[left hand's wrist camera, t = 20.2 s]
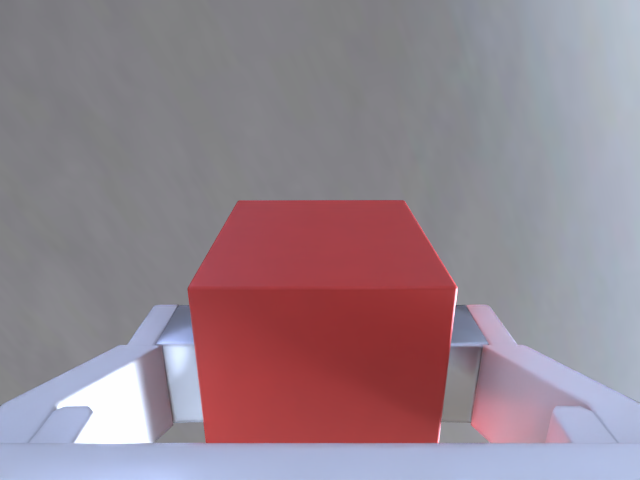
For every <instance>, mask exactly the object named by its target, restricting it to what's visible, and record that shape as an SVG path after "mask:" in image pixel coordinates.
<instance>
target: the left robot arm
mask: <svg viewBox="0 0 640 480" xmlns="http://www.w3.org/2000/svg"><path fill="white" fill-rule="evenodd" d="M184 422H203V414H202V406H201V397H200V389H199V381H198V372H197V364H196V356H195V347H194V339H193V330H192V322H191V314H190V305H156V306H154V307H153V308H152V309H151V311H150V312H149V314H148V315H147V317H146V318H145V319H144V321H143V322H142V324H141V325H140V327H139V328H138V330H137V331H136V333H135V334H134V335H133V337H132V338H131V340H130V341H129V343H128V344H127V345H119V346H117V347H115V348H113V349H111V350H109V351H107V352H105V353H103V354H101V355H99V356H97V357H95V358H93V359H91V360H89V361H87V362H85V363H83V364H81V365H79V366H77V367H75V368H73V369H71V370H69V371H67V372H65V373H63V374H61V375H60V376H58V377H56V378H54V379H52V380H50V381H48V382H46V383H44V384H42V385H40V386H38V387H36V388H34V389H32V390H30V391H28V392H26V393H24V394H22V395H20V396H18V397H16V398H14V399H12V400H10V401H8V402H6V403H4V404H2V406H1V407H0V480H640V403H639V402H637V401H635V400H633V399H631V398H629V397H627V396H625V395H623V394H621V393H619V392H617V391H615V390H613V389H611V388H609V387H607V386H605V385H603V384H601V383H599V382H597V381H595V380H593V379H591V378H589V377H587V376H585V375H583V374H581V373H579V372H577V371H575V370H573V369H571V368H569V367H567V366H565V365H563V364H561V363H559V362H557V361H555V360H553V359H551V358H549V357H547V356H545V355H543V354H541V353H539V352H537V351H535V350H533V349H531V348H529V347H527V346H525V345H517V344H516V342H515V341H514V339H513V338H512V337H511V335H510V334H509V332H508V331H507V330H506V328H505V327H504V325H503V324H502V323H501V321H500V320H499V318H498V317H497V316H496V314H495V313H494V311H493V310H492V308H491V307H490V306H488V305H486V304H483V305H455V313H454V321H453V330H452V338H451V346H450V354H449V362H448V371H447V379H446V387H445V395H444V403H443V411H442V420H441V422H459V423H471V425H472V426H473V427H474V428H475V429H476V430H477V431H478V432H479V433H480V434H481V435H483V436H484V437H485V438H486V439H487V440H488V441H489V442H490V443H154V442H155V441H156V440H158V439H159V438H160V437H161V436H162V435H163V434H164V433H165V432H166V431H167V430H168V429H169V428H171V427H172V426H173V423H184Z"/></svg>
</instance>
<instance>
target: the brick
mask: <svg viewBox="0 0 640 480" xmlns="http://www.w3.org/2000/svg"><path fill="white" fill-rule="evenodd" d="M188 297H189V305H190V314H191V322H192V330H193V339H194V347H195V356H196V364H197V372H198V381H199V389H200V397H201V406H202V414H203V423H204V431H205V439H206V443H439V436H440V428H441V420H442V411H443V403H444V395H445V387H446V379H447V371H448V362H449V354H450V346H451V338H452V330H453V321H454V313H455V305H456V297H457V286H456V284H455V283H454V281H453V279H452V278H451V276H450V274H449V273H448V271H447V270H446V268H445V266H444V265H443V263H442V261H441V260H440V258H439V257H438V255H437V253H436V252H435V250H434V248H433V247H432V245H431V243H430V242H429V240H428V239H427V237H426V235H425V234H424V232H423V230H422V229H421V227H420V226H419V224H418V222H417V221H416V219H415V217H414V216H413V214H412V212H411V211H410V209H409V208H408V206H407V204H406V203H405V201H403V200H301V201H238V202H237V203H236V205H235V207H234V209H233V210H232V212H231V214H230V216H229V217H228V219H227V221H226V222H225V224H224V226H223V228H222V229H221V231H220V233H219V235H218V236H217V238H216V240H215V242H214V243H213V245H212V247H211V248H210V250H209V252H208V254H207V255H206V257H205V259H204V261H203V262H202V264H201V266H200V267H199V269H198V271H197V273H196V274H195V276H194V278H193V280H192V281H191V283H190V285H189V287H188Z"/></svg>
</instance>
